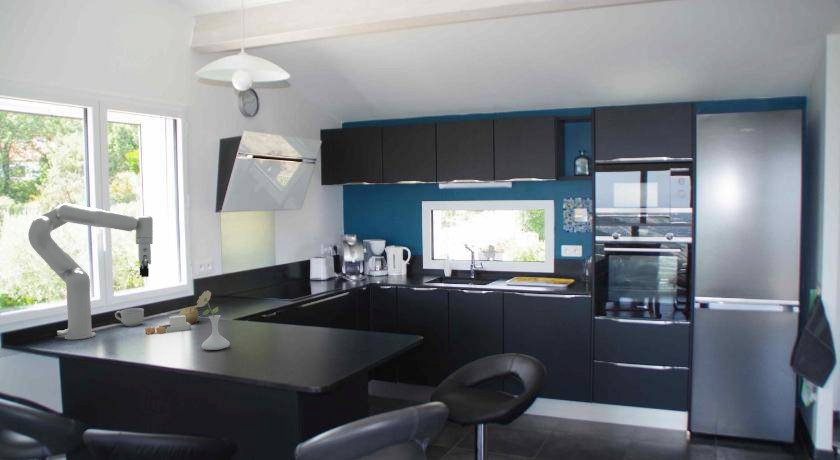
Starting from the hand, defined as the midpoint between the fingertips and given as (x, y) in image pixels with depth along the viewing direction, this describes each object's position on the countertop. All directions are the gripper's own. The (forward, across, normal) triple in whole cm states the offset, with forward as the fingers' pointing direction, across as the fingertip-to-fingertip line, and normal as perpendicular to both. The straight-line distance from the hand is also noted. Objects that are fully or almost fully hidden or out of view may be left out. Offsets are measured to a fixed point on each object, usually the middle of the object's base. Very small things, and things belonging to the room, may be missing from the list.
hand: (144, 275), depth 307 cm
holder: (+26, -10, -14) cm, 31 cm away
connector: (+26, -10, -12) cm, 30 cm away
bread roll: (+26, +7, -22) cm, 35 cm away
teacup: (+27, +18, +5) cm, 33 cm away
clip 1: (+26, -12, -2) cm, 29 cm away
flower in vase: (+26, -65, -22) cm, 73 cm away
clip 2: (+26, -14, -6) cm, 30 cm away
